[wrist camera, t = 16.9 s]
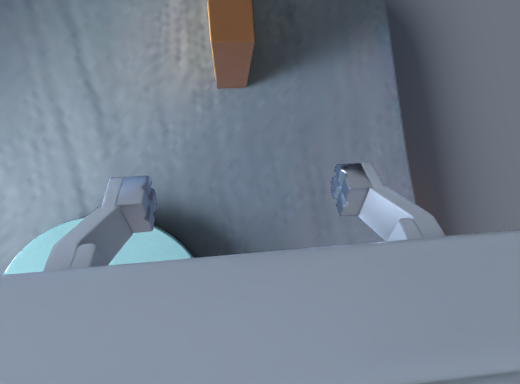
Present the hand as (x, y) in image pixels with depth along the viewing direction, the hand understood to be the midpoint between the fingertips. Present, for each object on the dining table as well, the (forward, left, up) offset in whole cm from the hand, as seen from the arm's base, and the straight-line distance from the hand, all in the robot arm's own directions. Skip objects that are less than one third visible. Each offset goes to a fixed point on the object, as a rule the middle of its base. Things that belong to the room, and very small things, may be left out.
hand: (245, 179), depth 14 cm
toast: (-5, +10, -12) cm, 17 cm away
